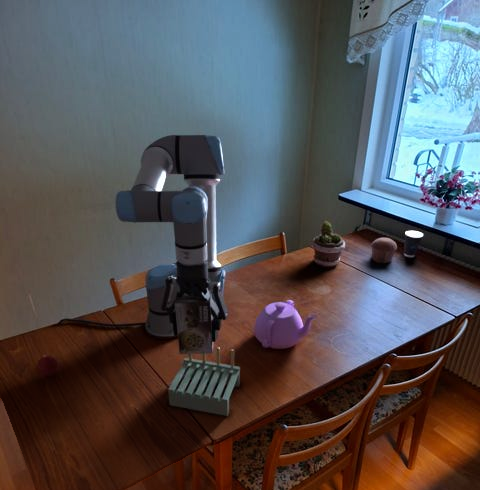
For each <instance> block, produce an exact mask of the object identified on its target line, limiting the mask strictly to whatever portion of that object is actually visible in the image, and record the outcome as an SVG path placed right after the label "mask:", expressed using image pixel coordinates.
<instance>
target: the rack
mask: <svg viewBox="0 0 480 490" xmlns="http://www.w3.org/2000/svg"><path fill="white" fill-rule="evenodd" d="M201 355H202V360H201V359H195V358H193V354H188V357H184V359H183V362H182V364H181V366H180V368H179V369H178V371H177V373H176V374H175V377H174V378H173V379H172V381H171V383H170V385H169V387H168V389H167V393H168V402H169V403H168V404H169V406H172V407H176V408H177V407H178V408H182V409H183V408H184V409H188V410H193V411H198V412H205V413H209V414H215V415H221V416H225V417H228V416H229V414H230V399H231V395H232V393H233V390H234V388H239V387H240V384H241V366H237V365H235V349H234V348H231V349H230V364H225V363H221V349H220V346H217V347H216V362H213V361H207V359H206V358H207V357H206V356H207V355H206V354H201ZM181 380H182V381H181ZM198 383H199V384H198ZM208 383H209V384H208ZM207 384H208V385H207ZM217 384H218V385H217ZM188 385H189V386H188ZM197 385H198V386H197ZM216 385H217V387H216ZM225 386H226V388H225ZM215 387H216V389H215ZM186 388H187V389H186ZM196 388H197V389H196ZM205 388H206V390H205ZM224 388H225V390H224ZM195 389H196V391H195ZM214 389H215V391H214ZM204 391H205V392H204ZM223 391H224V393H223ZM213 392H214V394H213ZM222 393H223V395H222ZM221 396H222V397H221Z"/></svg>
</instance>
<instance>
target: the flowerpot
mask: <svg viewBox="0 0 480 490" xmlns="http://www.w3.org/2000/svg"><path fill="white" fill-rule="evenodd" d="M333 229H334V226H333V223H331V222H330V221H329V219H327V220H323V221H322V224H321V225H319V231H320V234H319V235H317V236H315V237H314V238H313V240H312V242H311V243H312V244H311V245H312V248H313V250H314V251H313V252H314V254H313V260H314V262H315V264H316V265H318V266H319V267H322V268H334V267H336V266H337V265H338V264H339V263H340V261H341V255H342V252H343V251H345V247H346V242H345V241H344V239H342V236H340V234H338V233H337V232H335V233H333Z"/></svg>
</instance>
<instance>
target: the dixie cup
mask: <svg viewBox="0 0 480 490" xmlns="http://www.w3.org/2000/svg"><path fill="white" fill-rule="evenodd" d="M404 234H405V238H404V245H403V246H404V247H403V256H404V257H407V258H414V257H415V256H416V255H417V252H418V249H419V246H420V243H421V241H422V238H423V237H424V233H423V232H420V231H417V230H406V231H405V233H404Z"/></svg>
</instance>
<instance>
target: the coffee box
mask: <svg viewBox="0 0 480 490" xmlns="http://www.w3.org/2000/svg"><path fill="white" fill-rule="evenodd" d="M208 291H209V294H210V297H209V300H208V301H206V300H201V299H200V297H199V296H194V295H186V293H185V294H184V295H183V297H178V294H179V292H180V291H177V294H176V299H175V311H176V321H177V331H178V337H177V341H178V351H179V352H178V354H179V355H189V354H192V355H202V354H207V355H209V354H211V355H212V354H213V353H214V342H212V320H213V316H212V314H211V290H208Z"/></svg>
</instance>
